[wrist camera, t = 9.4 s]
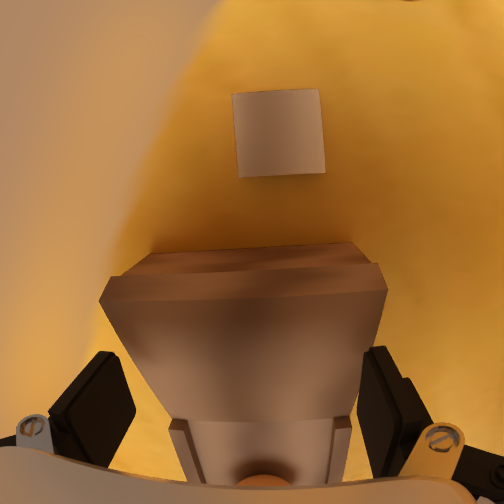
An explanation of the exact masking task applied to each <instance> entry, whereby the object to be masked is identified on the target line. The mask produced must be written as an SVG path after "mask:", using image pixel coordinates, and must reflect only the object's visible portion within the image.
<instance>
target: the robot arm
mask: <svg viewBox="0 0 504 504" xmlns="http://www.w3.org/2000/svg"><path fill="white" fill-rule="evenodd" d="M48 413H49V415H50V417H49V418H48V419H47V418H46V417H45V416H43V415H39V414H34V415H30V416H27V417H25V418H23V419H22V420H21V421H20V422H19V423H18V425H17V427H16V435H13V436H9V437H6V438H2V439H0V504H504V457H503V456H499V455H496V454H493V453H489V452H486V451H483V450H480V449H477V448H474V447H470V446H467V445H464V442H465V437H464V434H463V432H462V431H461V430H460V429H459V428H458V427H457V426H455V425H453V424H450V423H444V422H441V423H435V424H434V423H433V421H432V419H431V417H430V415H429V413H428V411H427V409H426V407H425V406H424V404H423V402H422V400H421V398H420V396H419V394H418V392H417V391H416V389H415V387H414V385H413V383H412V381H411V380H410V379H409V378H408V377H406V378H402V376H401V374H400V372H399V370H398V368H397V366H396V365H395V363H394V361H393V359H392V357H391V355H390V353H389V352H388V350H387V348H386V346H376V347H370V348H369V350H368V351H367V352H364V354H363V363H362V372H361V381H360V388H359V396H358V403H357V416H358V420H359V424H360V427H361V431H362V435H363V439H364V443H365V446H366V450H367V454H368V458H369V462H370V466H371V470H372V474H373V478H374V479H365V480H356V481H348V482H339V483H328V484H314V485H297V486H232V485H215V484H202V483H192V482H183V481H175V480H168V479H161V478H154V477H148V476H143V475H137V474H132V473H127V472H122V471H117V470H113V469H109V468H108V466H109V465H110V463H111V461H112V459H113V457H114V455H115V453H116V451H117V449H118V447H119V445H120V443H121V441H122V440H123V438H124V436H125V434H126V432H127V430H128V428H129V426H130V424H131V423H132V421H133V419H134V417H135V414H136V407H135V404H134V401H133V399H132V396H131V393H130V390H129V387H128V384H127V381H126V378H125V375H124V372H123V369H122V366H121V362H120V359H119V357H118V356H116V355H115V353H114V352H108V351H99V352H98V353H97V354H96V355H95V356H94V358H93V359H92V360H91V361H90V362H89V363H88V364H87V366H86V367H85V368H84V369H83V370H82V371H81V373H80V374H79V375H78V376H77V377H76V378H75V379H74V381H73V382H72V383H71V384H70V385H69V387H68V388H67V389H66V390H65V391H64V392H63V394H62V395H61V396H60V397H59V398H58V400H57V401H56V402H55V403H54V405H53V406H52V407H51V408H50V409H49V411H48Z"/></svg>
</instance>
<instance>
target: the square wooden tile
mask: <svg viewBox="0 0 504 504" xmlns="http://www.w3.org/2000/svg"><path fill="white" fill-rule="evenodd" d="M232 103H233V116H234V128H235V141H236V154H237V166H238V178H246V177H259V176H274V175H291V174H312V173H326V169H325V153H324V140H323V128H322V116H321V106H320V96H319V89H295V90H275V91H261V92H249V93H238V94H232Z"/></svg>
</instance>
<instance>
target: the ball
mask: <svg viewBox="0 0 504 504" xmlns="http://www.w3.org/2000/svg"><path fill="white" fill-rule="evenodd" d="M236 486H292V485H291V484H290V483H288V482H287V481H285V480H284V479H282V478H280V477H277V476H273V475H265V474H263V475H255V476H251V477H248V478H246V479H244V480H242V481H241V482H239V483H238V484H237V485H236Z"/></svg>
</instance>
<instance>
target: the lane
mask: <svg viewBox="0 0 504 504" xmlns="http://www.w3.org/2000/svg"><path fill="white" fill-rule="evenodd" d="M387 291H388V288H387V285H386V283H385V280H384V278H383V275H382V273H381V270H380V268H379V265H378V263H371V262H370V261H369V260H368V259H367V258H366V257H365V255H364V254H363V253H362V252H361V251H360V250H359V249H358V248H357V247H356V246H355V245H354V244H353V243H352V242H351V243H333V244H315V245H298V246H280V247H263V248H245V249H228V250H211V251H194V252H177V253H161V254H149V255H148V256H146V257H145V258H144V259H142V260H141V261H140V262H138V263H137V264H136V265H134V266H133V267H132V268H130V269H129V270H128V271H126V272H125V273H124V274H122V275H121V276H112V277H111V278H110V279H109V281H108V283H107V285H106V287H105V289H104V291H103V293H102V295H101V297H100V299H99V303H100V304H101V306H102V308H103V310H104V312H105V314H106V316H107V317H108V319H109V321H110V323H111V325H112V326H113V328H114V330H115V332H116V333H117V335H118V337H119V339H120V340H121V342H122V344H123V345H124V347H125V349H126V350H127V352H128V354H129V355H130V357H131V358H132V360H133V362H134V363H135V365H136V366H137V368H138V370H139V371H140V373H141V374H142V376H143V377H144V379H145V380H146V382H147V383H148V385H149V386H150V388H151V389H152V391H153V392H154V394H155V395H156V397H157V398H158V400H159V401H160V403H161V404H162V405H163V407H164V408H165V410H166V411H167V412H168V414H169V415H170V417H171V418H172V421H171V424H170V426H169V429H168V430H169V433H170V436H171V439H172V442H173V445H174V447H175V450H176V453H177V455H178V458H179V461H180V463H181V466H182V469H183V471H184V474H185V476H186V479H187V481H188V482H192V483H202V484H215V485H232V486H236V485H237V484H238V483H239V482H241V481H242V480H244V479H246V478H248V477H251V476H255V475H263V474H265V475H273V476H277V477H280V478H282V479H284V480H285V481H287V482H288V483H290V484H291V485H292V486H297V485H314V484H328V483H339V482H342V478H343V474H344V469H345V464H346V459H347V453H348V448H349V442H350V437H351V431H352V425H351V421H350V417H349V416H350V413H351V411H352V408H353V405H354V402H355V400H356V397H357V394H358V391H359V388H360V381H361V372H362V363H363V354H364V352H367V351H368V350H369V348H370V347H373V344H374V341H375V337H376V334H377V330H378V326H379V323H380V319H381V315H382V311H383V307H384V303H385V299H386V295H387Z"/></svg>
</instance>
